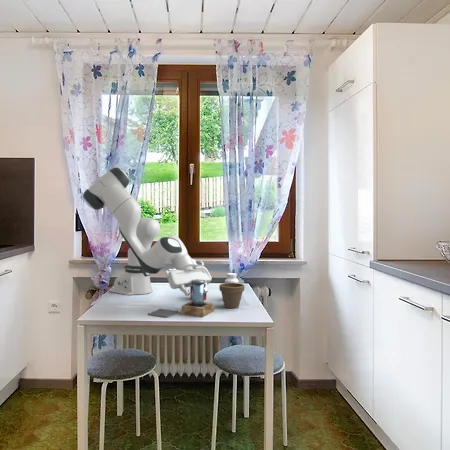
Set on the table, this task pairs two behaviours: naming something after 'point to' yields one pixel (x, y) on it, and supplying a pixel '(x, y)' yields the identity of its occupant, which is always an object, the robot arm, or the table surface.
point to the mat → (163, 313)
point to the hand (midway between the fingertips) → (197, 293)
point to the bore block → (197, 309)
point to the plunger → (198, 292)
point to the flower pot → (231, 294)
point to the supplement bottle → (231, 278)
